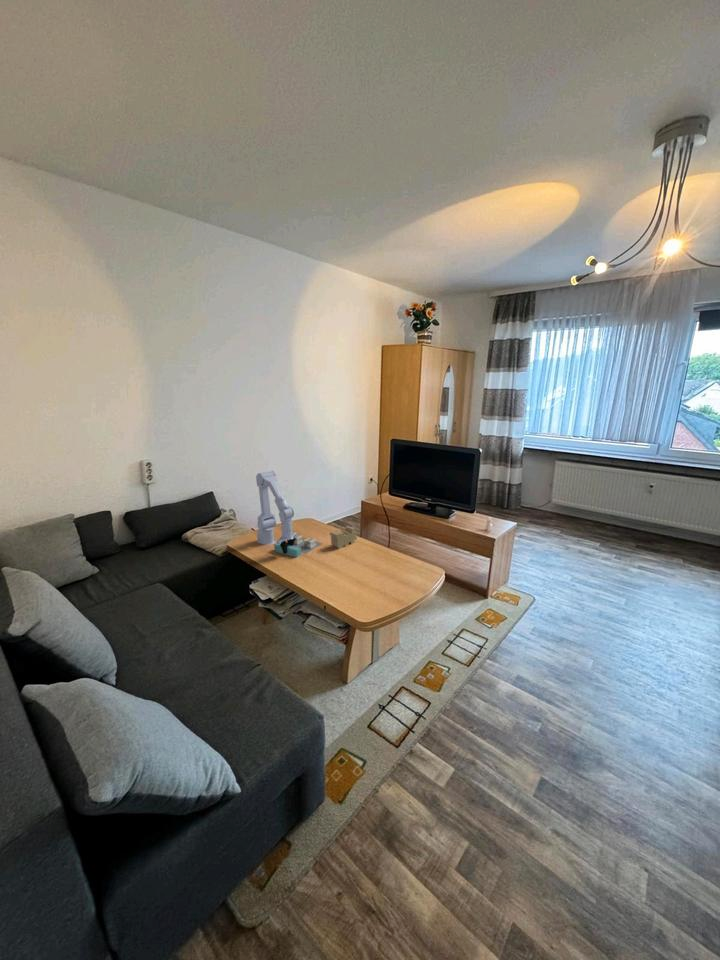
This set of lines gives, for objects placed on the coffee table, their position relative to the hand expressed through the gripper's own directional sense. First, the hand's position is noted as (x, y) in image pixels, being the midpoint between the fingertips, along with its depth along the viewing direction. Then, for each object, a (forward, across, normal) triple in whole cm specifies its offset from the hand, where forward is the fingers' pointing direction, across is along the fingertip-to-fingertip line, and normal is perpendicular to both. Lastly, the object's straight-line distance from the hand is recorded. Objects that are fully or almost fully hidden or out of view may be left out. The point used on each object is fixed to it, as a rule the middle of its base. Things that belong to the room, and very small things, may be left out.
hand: (287, 551), depth 215 cm
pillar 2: (+1, +14, -5) cm, 15 cm away
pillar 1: (+1, +14, +5) cm, 15 cm away
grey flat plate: (+1, +13, 0) cm, 13 cm away
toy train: (+2, +27, -20) cm, 34 cm away
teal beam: (+2, 0, 0) cm, 2 cm away
